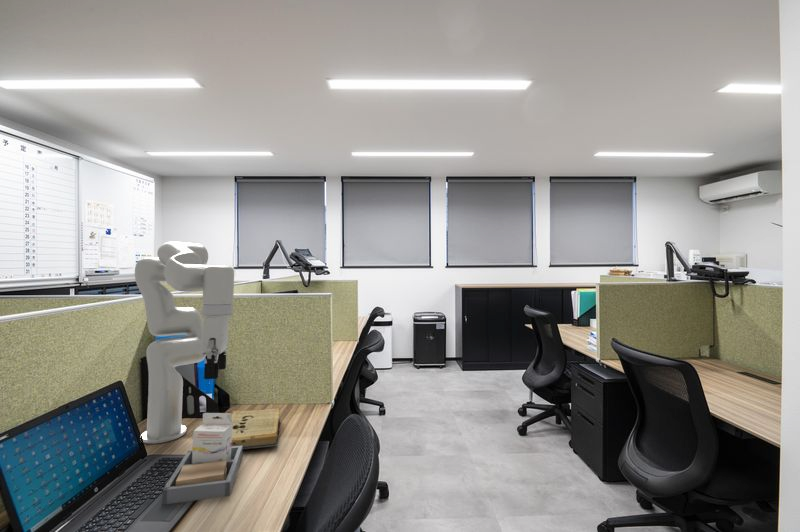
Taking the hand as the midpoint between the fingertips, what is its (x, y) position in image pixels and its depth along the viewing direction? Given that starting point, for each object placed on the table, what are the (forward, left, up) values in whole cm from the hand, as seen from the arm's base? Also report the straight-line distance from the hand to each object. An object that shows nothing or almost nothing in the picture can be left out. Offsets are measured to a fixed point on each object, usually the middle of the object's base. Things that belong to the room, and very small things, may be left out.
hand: (215, 373), depth 97 cm
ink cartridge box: (0, 0, -26) cm, 26 cm away
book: (-19, +8, -27) cm, 34 cm away
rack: (+5, 0, -26) cm, 26 cm away
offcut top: (+9, 0, -23) cm, 25 cm away
